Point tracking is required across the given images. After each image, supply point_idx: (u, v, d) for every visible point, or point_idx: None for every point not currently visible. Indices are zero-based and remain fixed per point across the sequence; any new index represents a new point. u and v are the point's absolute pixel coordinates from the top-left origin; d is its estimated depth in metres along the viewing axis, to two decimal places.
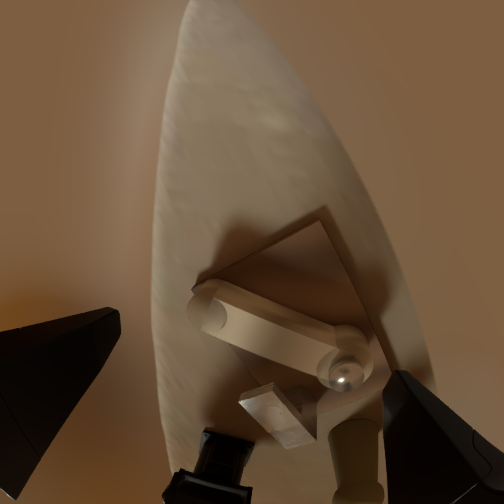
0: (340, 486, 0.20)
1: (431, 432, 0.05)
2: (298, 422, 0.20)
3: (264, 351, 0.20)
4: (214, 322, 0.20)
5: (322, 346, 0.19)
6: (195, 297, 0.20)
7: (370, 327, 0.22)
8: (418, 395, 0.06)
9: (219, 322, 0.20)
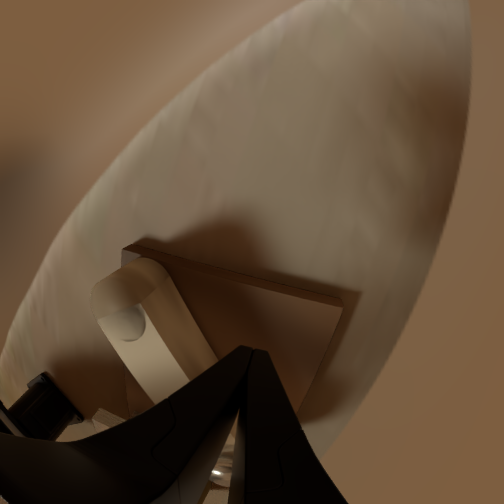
0: None
1: None
2: None
3: (157, 397, 0.12)
4: (119, 328, 0.11)
5: (228, 437, 0.13)
6: (116, 283, 0.11)
7: None
8: (255, 375, 0.06)
9: (125, 333, 0.12)
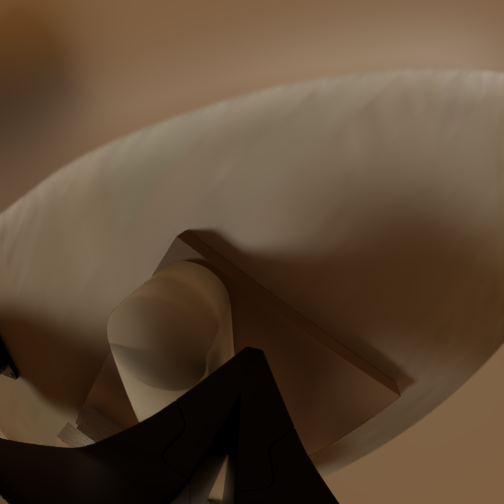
0: None
1: None
2: None
3: None
4: (147, 369, 0.07)
5: None
6: (176, 317, 0.07)
7: None
8: (249, 374, 0.06)
9: (154, 378, 0.07)
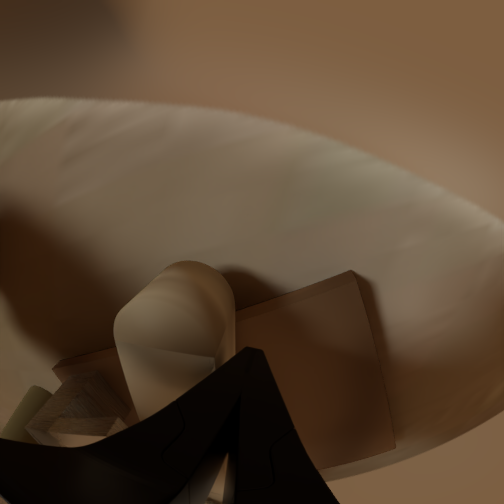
0: None
1: None
2: None
3: None
4: (153, 367, 0.07)
5: (219, 489, 0.10)
6: (188, 317, 0.07)
7: None
8: (249, 374, 0.06)
9: (159, 377, 0.08)
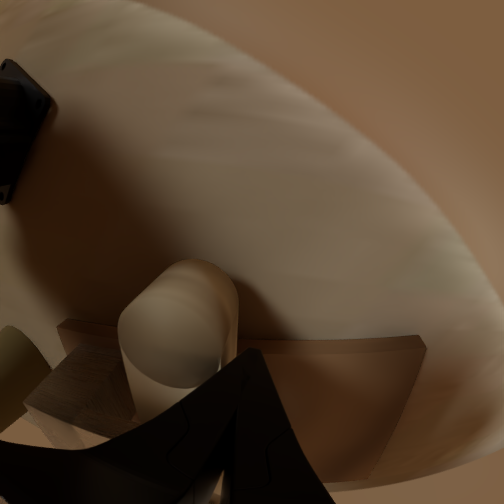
0: None
1: None
2: None
3: None
4: (156, 366, 0.07)
5: None
6: (196, 317, 0.07)
7: None
8: (247, 374, 0.06)
9: (162, 375, 0.07)
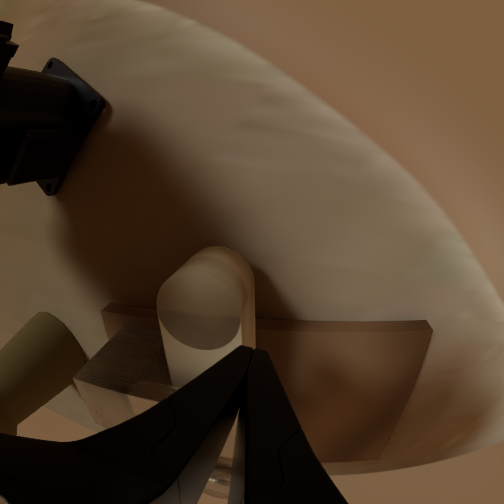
0: None
1: None
2: None
3: None
4: (189, 331, 0.10)
5: None
6: (220, 284, 0.09)
7: None
8: (255, 375, 0.06)
9: (193, 339, 0.10)
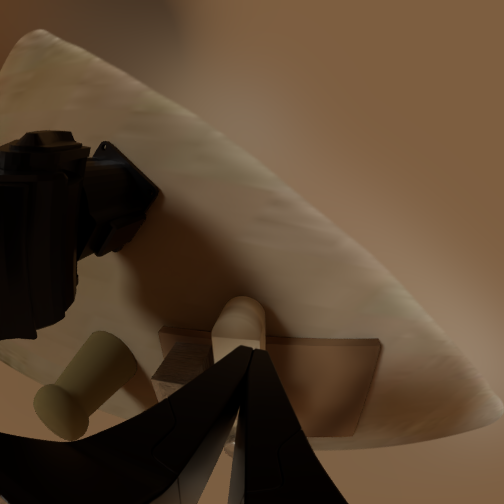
0: (76, 398, 0.18)
1: None
2: None
3: None
4: (230, 347, 0.17)
5: None
6: (248, 324, 0.17)
7: None
8: (255, 375, 0.06)
9: None
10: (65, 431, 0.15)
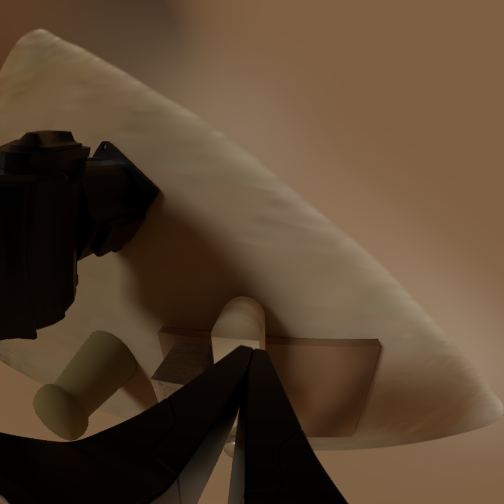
0: (76, 397, 0.18)
1: None
2: None
3: None
4: (229, 348, 0.17)
5: None
6: (248, 324, 0.17)
7: None
8: (255, 375, 0.06)
9: None
10: (65, 431, 0.15)
